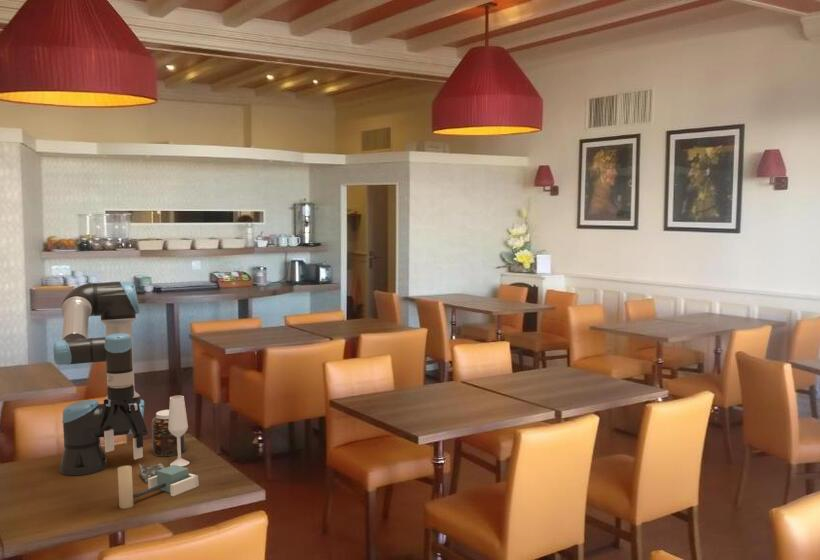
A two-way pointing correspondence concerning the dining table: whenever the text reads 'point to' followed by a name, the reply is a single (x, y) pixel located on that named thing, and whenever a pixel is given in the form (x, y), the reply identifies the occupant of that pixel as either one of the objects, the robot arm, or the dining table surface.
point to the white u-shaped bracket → (177, 484)
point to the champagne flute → (178, 424)
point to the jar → (164, 436)
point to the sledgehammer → (163, 481)
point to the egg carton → (150, 471)
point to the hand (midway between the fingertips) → (123, 454)
